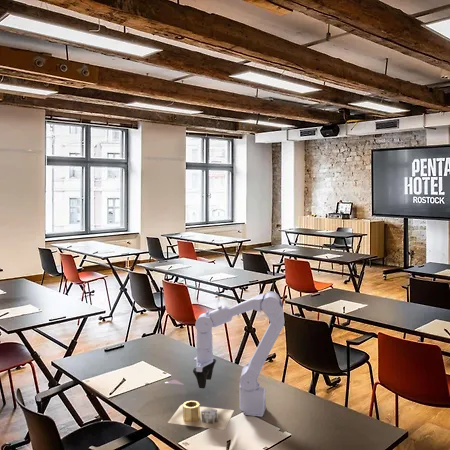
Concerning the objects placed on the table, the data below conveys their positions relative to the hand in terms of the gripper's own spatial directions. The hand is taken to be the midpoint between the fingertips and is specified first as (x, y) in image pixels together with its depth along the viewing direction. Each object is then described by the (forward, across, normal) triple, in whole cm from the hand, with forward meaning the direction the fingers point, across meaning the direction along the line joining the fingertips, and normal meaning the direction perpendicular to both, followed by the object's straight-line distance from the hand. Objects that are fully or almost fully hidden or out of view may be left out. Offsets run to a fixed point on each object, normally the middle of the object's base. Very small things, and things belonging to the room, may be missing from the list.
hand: (205, 383), depth 175 cm
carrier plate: (+9, +8, +1) cm, 12 cm away
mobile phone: (+10, -14, -16) cm, 23 cm away
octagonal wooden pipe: (+8, +10, -2) cm, 13 cm away
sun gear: (+9, +10, +4) cm, 14 cm away
